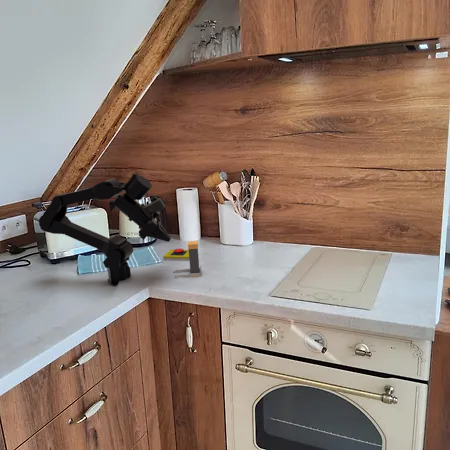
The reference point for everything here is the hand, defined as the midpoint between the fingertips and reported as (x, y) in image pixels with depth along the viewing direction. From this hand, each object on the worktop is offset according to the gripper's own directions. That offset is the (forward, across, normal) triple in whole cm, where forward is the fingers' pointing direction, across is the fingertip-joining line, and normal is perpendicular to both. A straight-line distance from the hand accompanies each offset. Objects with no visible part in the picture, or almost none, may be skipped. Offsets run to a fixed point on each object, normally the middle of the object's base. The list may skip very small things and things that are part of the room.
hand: (169, 239), depth 153 cm
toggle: (+14, 0, +3) cm, 14 cm away
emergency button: (+12, +20, +8) cm, 25 cm away
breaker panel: (+13, 0, +6) cm, 14 cm away
